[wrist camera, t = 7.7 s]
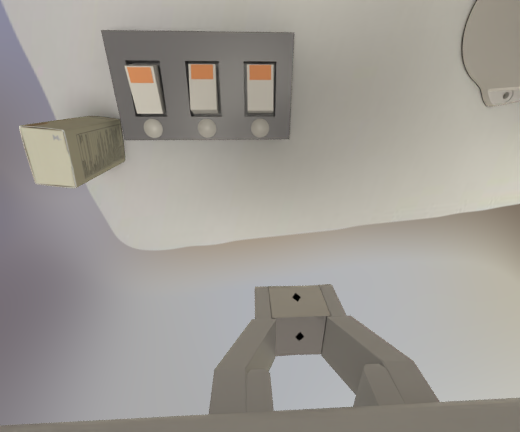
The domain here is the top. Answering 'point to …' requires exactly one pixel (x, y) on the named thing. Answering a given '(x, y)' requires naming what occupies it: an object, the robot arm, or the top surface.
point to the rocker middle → (203, 88)
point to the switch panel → (177, 82)
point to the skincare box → (72, 149)
